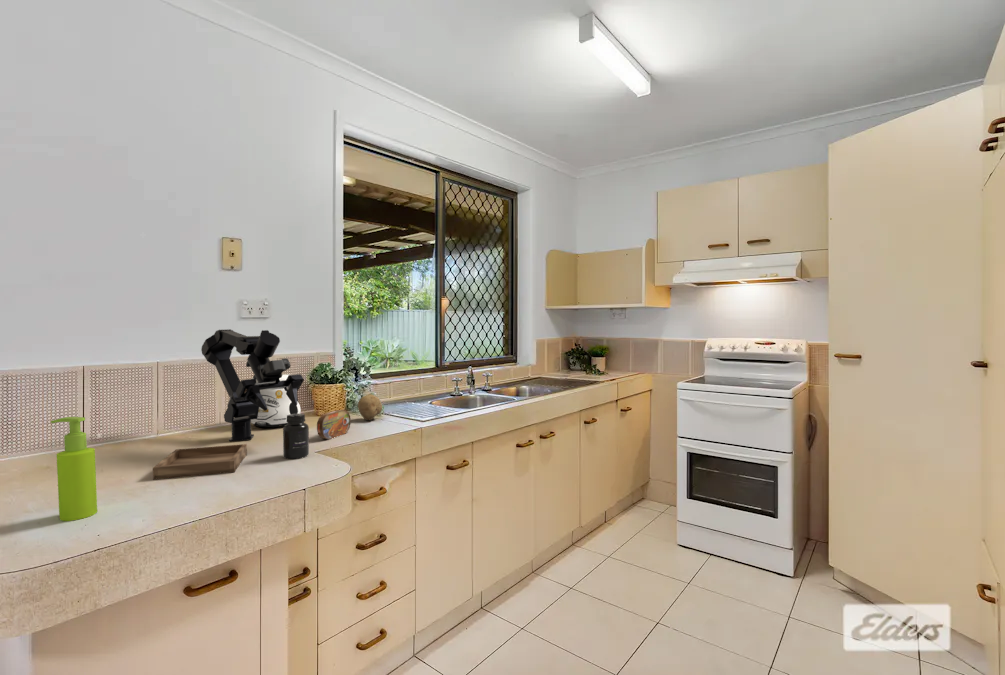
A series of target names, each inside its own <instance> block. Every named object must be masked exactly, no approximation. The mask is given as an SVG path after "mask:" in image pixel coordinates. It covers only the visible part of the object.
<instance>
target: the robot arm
mask: <svg viewBox="0 0 1005 675" xmlns="http://www.w3.org/2000/svg"><path fill="white" fill-rule="evenodd" d="M280 342H281V340H280V337H279V336H277V335H276V334H274V333H272V332H270V331H269V330H268V329H266V330H263V329H262V330H261V331H260V333H259V335H252V336H250V335H249V336H248V335H245V334H242V333H240V332H236V331H234V330H233V329H229V328H228V329H218V330H215V332H214V334H212V335H211V336H209V337H208V338H206V339H205V340H204V342H203V344H202V346H201V348H200V349H201V350H200V352H201V354H202V356H204V359H205V360H206V362H208V363H209V364H211V365H213V366H215V368H216V371H217V373H218V375H219V378H220V380H221V381H222V384H223V386H224V389H225V390H226V392H227V395H228V397H229V399H228V403H227V408H226V409H225V412H224V414H223V418H224V422H225V423H229V424H231V425H230V426H231V437H230V438H229V439H228V441H229V442H240V441H241V442H242V441H251V440H252V439H253V438H254V436H255V434H253V433H252V423H251V420H252V419H257V417H258V411H259V407H260V408H262V409H263V410H265V411H266V410H267V405H266V403H265V401H264V399H263V397H262V395H261V393H260V390H263V389H266V390H267V389H275V388H284V389H285V391H287V392H286V395H287V396H288V398H289V399H290V400H291V402H292V403H293V404H294V405H295V406H297V391H299V390H300V388H301V386H302V384H303V383H304V382H305V379H304V377H303V375H302V374H301V373H297V374H288V375H289V376H288V377H287V379H286V380H284V381H280V380H279V378H281V377H282V375H283V374H282V373H283V372H285V371H287V370H289V369H290V368H291V362H290V360H289V358H281V359H276V360H275V359H274V360H271V359H270V358H271V357H273V356H274V354H275V353H276V350H277V348H278V346H279V345H280ZM234 348H236V349H235V351H236V352H237V353H238V354H240V355H242V356H245V355H248V357H247V359H246V360H247V361H246V364H245V365H246V367H247V368H250V369H251V370H252V373H253V377H252V378H253V379H252V378H248V379H241V380H240V378H239V376H238V373H237V371H236V370H235V367H234V365H233V363H232V361H231V358H230V357H231V355H232V351H233V350H234ZM256 380H257V381H258V383H256V382H257V381H256Z"/></svg>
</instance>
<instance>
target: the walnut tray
mask: <svg viewBox="0 0 1005 675" xmlns="http://www.w3.org/2000/svg"><path fill="white" fill-rule="evenodd" d="M247 446H248V444H247V443H243V444H229V445H217V446H215V445H214V446H204V447H191V448H190V447H189V448H178V449H174V450H173V451H172V452H171V453H170V454H168V455H166V457H164V458H163V459H162V460H160V461H159V462H158V463H157V464H155V465H154V466H152V479H153V481H154V480H164V479H176V478H186V477H197V476H198V477H200V476H209V475H220V474H231V473H235V472H236V471H237V470H238V468H239V466H240V465H241V464H242V462H243V460H244V459H245V458H246V457H247V455H248V447H247ZM240 463H241V464H240Z"/></svg>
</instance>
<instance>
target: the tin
mask: <svg viewBox="0 0 1005 675" xmlns="http://www.w3.org/2000/svg"><path fill="white" fill-rule="evenodd" d="M351 422H352V420H351V416H350V413H349V412H348V411H347V410H346V409H337V410H333V411H330V412H327V413H324V414H322V415H320V416H319V417H318V420H317V422H316V432H317V435H318V437H319V438H320V439H322V440H333V439H335V438H337V436H338V437H340V435H341V436H342V435H343V436H344V435H346V434H347V433H348V432H349V430H350V428H351ZM334 437H335V438H334ZM332 438H333V439H332Z"/></svg>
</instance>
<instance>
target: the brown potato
mask: <svg viewBox="0 0 1005 675" xmlns="http://www.w3.org/2000/svg"><path fill="white" fill-rule="evenodd" d="M357 409H358V412H359V414H360V415H361V417H362V418H364V420H366V421H372V420H373V419H374V418H375V417H376V416H378V415H379V414H381V412H382V411H383V404H382V402H381V400H380V398H379V397H377V396H376V395H374V394H370V393H369V394H366V395H363V396H362V397H361V398H360V399H359V400H358V403H357Z"/></svg>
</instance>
